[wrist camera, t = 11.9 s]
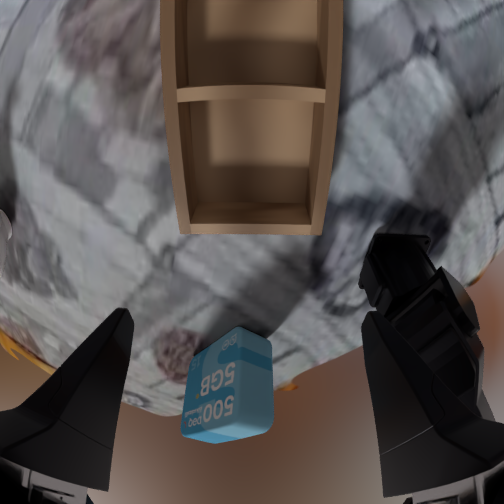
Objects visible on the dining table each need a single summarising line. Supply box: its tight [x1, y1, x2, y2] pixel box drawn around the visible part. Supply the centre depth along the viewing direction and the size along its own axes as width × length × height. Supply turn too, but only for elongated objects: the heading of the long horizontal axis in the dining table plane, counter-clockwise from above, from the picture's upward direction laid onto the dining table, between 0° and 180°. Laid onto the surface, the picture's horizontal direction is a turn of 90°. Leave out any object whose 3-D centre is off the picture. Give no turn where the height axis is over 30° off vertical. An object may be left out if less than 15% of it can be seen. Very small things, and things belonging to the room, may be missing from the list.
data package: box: [181, 327, 274, 443], centre depth 29 cm, size 12×4×12 cm, turn 140°
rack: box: [160, 0, 343, 235], centre depth 12 cm, size 10×27×4 cm, turn 0°
